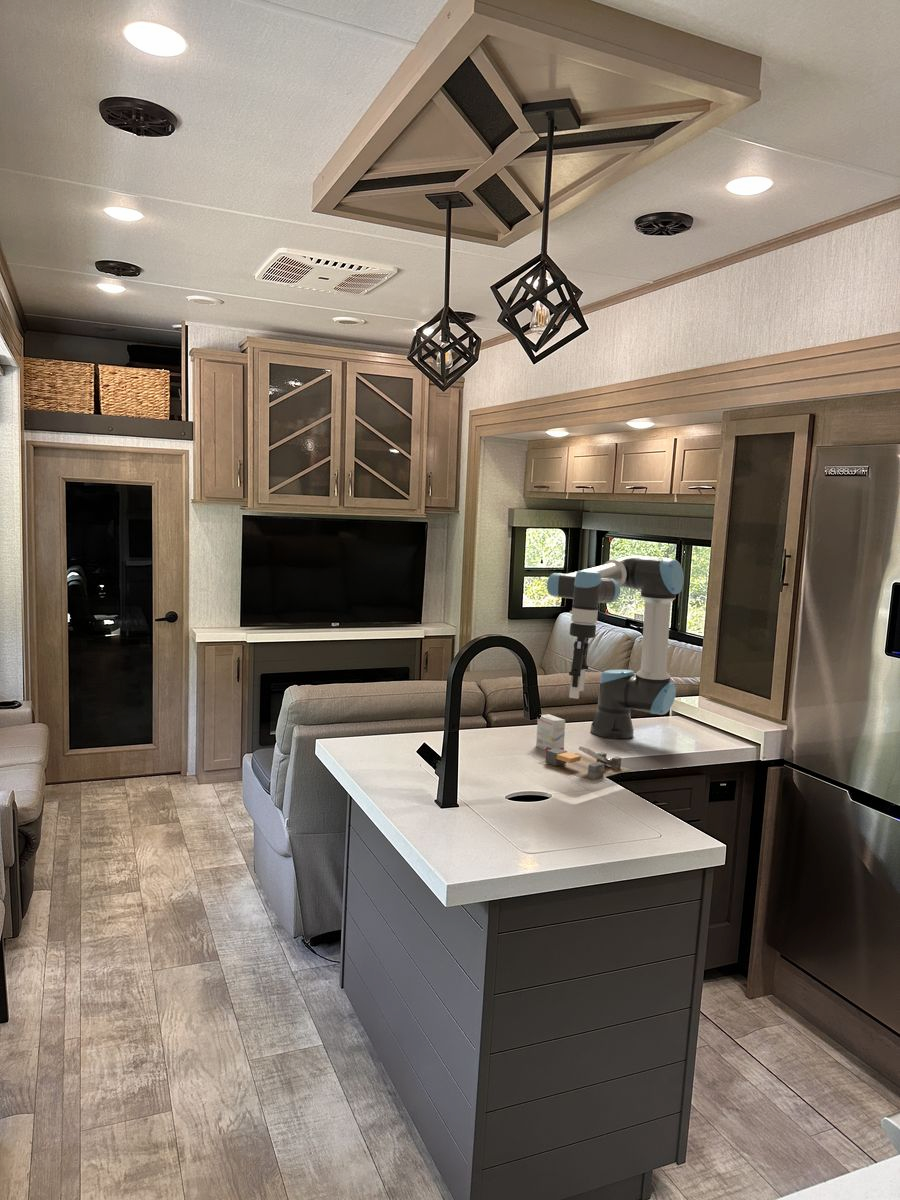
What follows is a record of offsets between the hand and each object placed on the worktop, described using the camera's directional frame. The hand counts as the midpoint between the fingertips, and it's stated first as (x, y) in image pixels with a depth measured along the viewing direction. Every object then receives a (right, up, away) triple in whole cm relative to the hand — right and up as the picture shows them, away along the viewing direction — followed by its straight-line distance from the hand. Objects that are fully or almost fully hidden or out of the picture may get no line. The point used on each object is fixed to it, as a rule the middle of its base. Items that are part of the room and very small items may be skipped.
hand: (576, 694), depth 246 cm
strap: (+6, -19, 0) cm, 20 cm away
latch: (-4, -21, +1) cm, 22 cm away
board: (+3, -24, +3) cm, 24 cm away
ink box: (-6, -22, +20) cm, 30 cm away
